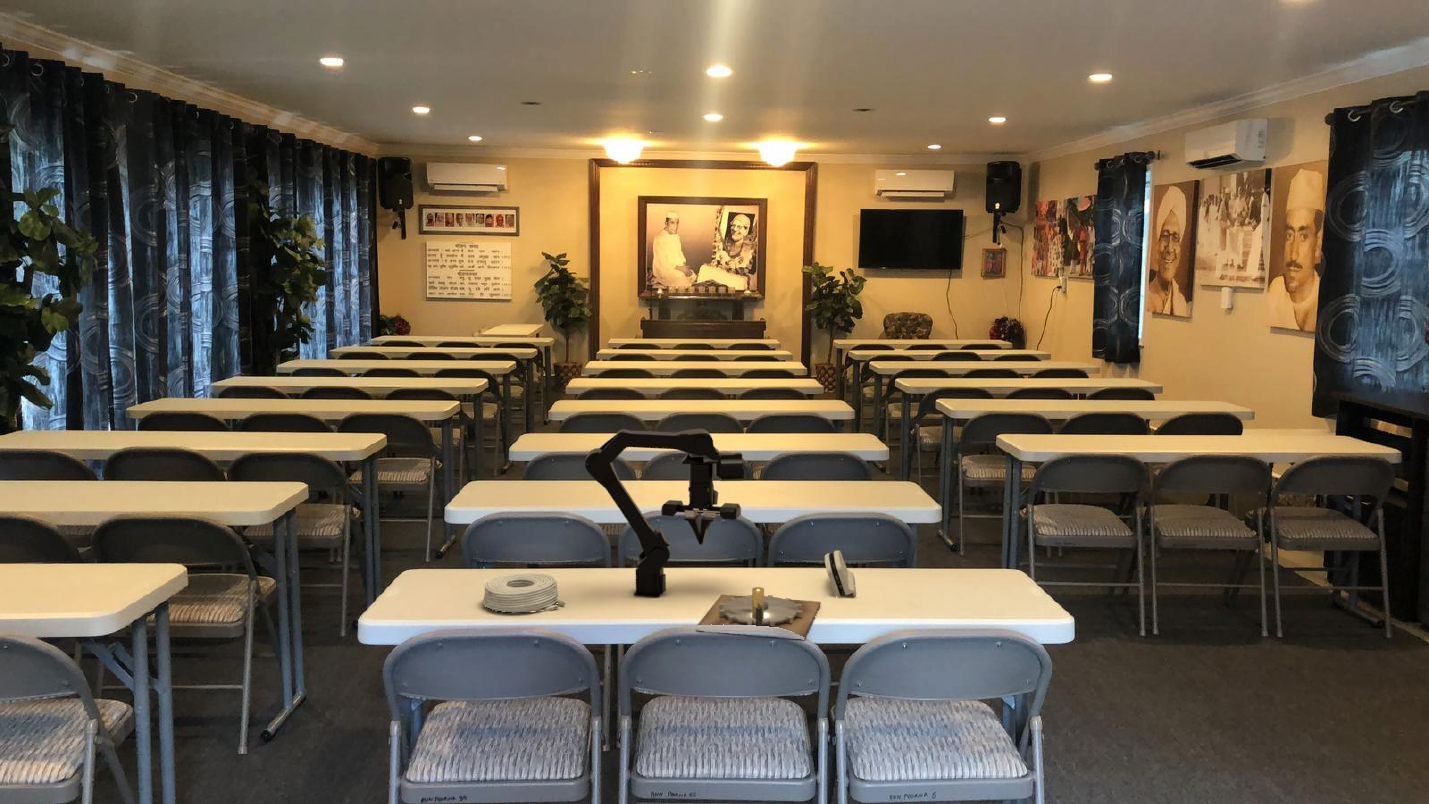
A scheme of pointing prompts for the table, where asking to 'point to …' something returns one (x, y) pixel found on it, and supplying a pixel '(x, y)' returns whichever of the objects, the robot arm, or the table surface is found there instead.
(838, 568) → the beige layered block
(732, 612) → the sprocket
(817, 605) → the index board
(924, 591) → the table surface
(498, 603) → the cable
